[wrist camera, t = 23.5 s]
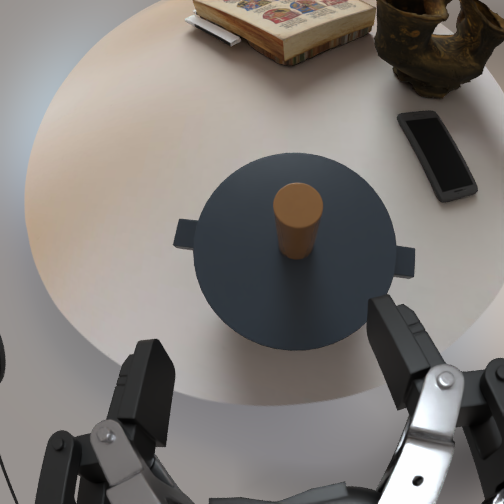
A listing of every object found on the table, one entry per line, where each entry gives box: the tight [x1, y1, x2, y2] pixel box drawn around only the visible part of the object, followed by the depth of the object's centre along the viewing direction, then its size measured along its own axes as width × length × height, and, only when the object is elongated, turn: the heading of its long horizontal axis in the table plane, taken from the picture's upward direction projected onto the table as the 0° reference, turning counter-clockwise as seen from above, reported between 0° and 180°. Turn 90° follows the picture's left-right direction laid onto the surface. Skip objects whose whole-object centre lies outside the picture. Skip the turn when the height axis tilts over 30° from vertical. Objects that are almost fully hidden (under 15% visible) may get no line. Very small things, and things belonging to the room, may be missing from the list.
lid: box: [193, 153, 396, 351], centre depth 19 cm, size 16×16×8 cm
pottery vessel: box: [374, 0, 504, 99], centre depth 27 cm, size 25×11×20 cm, turn 102°
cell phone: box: [397, 110, 478, 202], centre depth 32 cm, size 7×14×1 cm, turn 14°
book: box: [185, 0, 376, 66], centre depth 40 cm, size 25×6×28 cm
